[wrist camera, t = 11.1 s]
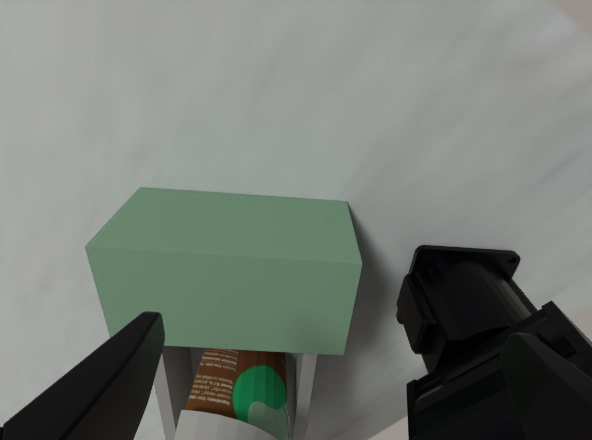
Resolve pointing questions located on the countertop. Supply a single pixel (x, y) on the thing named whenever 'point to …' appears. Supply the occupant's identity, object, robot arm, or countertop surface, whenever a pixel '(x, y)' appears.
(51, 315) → the countertop surface
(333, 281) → the green block on stand
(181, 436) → the food container
